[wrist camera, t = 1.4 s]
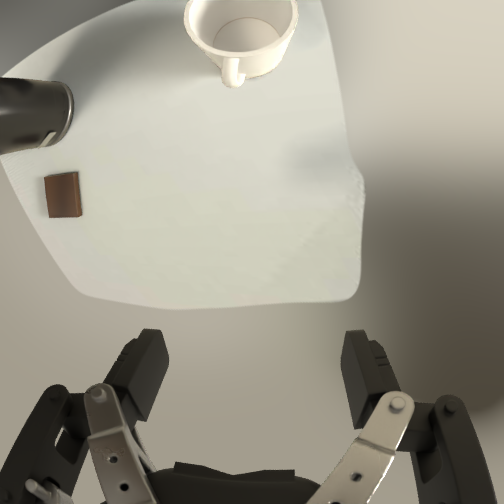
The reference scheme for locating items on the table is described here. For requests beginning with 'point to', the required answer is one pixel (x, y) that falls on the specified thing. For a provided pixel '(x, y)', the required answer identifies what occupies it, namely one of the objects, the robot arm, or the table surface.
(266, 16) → the mug
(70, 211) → the coaster
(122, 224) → the table surface
